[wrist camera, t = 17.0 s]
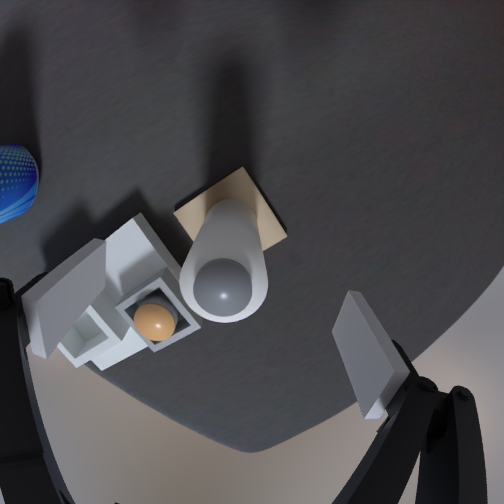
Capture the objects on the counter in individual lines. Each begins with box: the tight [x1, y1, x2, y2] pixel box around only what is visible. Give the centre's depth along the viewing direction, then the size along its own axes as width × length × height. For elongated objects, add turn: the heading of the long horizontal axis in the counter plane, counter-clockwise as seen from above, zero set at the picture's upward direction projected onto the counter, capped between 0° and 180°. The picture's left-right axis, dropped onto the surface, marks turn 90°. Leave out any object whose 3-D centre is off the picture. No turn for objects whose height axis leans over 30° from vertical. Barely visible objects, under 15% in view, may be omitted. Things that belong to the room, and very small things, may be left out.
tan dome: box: [134, 290, 180, 341], centre depth 28 cm, size 4×4×3 cm
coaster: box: [174, 167, 287, 251], centre depth 30 cm, size 8×8×1 cm
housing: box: [57, 212, 203, 371], centre depth 30 cm, size 17×12×6 cm
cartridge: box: [179, 199, 268, 322], centre depth 23 cm, size 5×5×14 cm
